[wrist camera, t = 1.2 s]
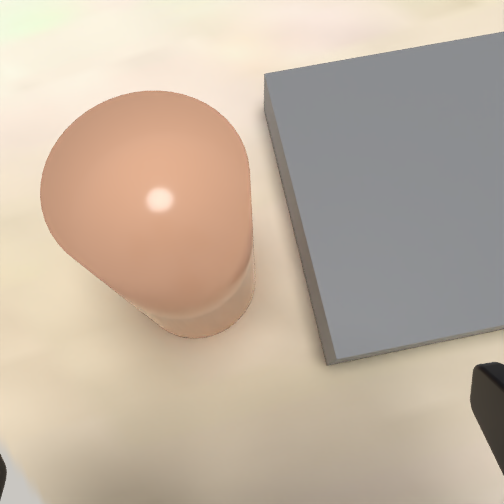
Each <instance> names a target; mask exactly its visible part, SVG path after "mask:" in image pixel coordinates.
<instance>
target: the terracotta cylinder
mask: <svg viewBox="0 0 504 504" xmlns="http://www.w3.org/2000/svg"><path fill="white" fill-rule="evenodd" d="M40 199H41V207H42V212H43V215H44V219H45V222H46V224H47V226H48V228H49V230H50V233H51V234H52V236H53V237H54V239H55V240H56V242H57V243H58V244H59V245H60V246H61V247H62V249H63V250H64V251H65V252H66V253H67V254H69V255H70V256H71V257H72V258H74V259H75V260H76V261H77V262H79V263H80V264H81V265H82V266H84V267H85V268H86V269H87V270H89V271H90V272H91V273H92V274H94V275H95V276H96V277H98V278H99V279H100V280H101V281H103V282H104V283H105V284H106V285H108V286H109V287H110V288H112V289H113V290H114V291H115V292H117V293H118V294H119V295H120V296H122V297H123V298H124V299H126V300H127V301H128V302H129V303H131V304H132V305H133V306H134V307H136V308H137V309H138V310H140V311H141V312H142V313H143V314H145V315H146V316H147V317H148V318H150V319H151V320H152V321H154V322H155V323H156V324H157V325H159V326H160V327H161V328H163V329H164V330H166V331H168V332H170V333H172V334H174V335H177V336H181V337H186V338H203V337H208V336H212V335H215V334H218V333H220V332H222V331H224V330H226V329H227V328H229V327H230V326H232V325H233V324H234V323H235V322H236V321H237V320H238V319H239V318H240V317H241V316H242V315H243V314H244V312H245V311H246V309H247V307H248V306H249V304H250V301H251V299H252V296H253V292H254V287H255V266H254V246H253V226H252V206H251V186H250V169H249V162H248V157H247V154H246V150H245V147H244V145H243V143H242V141H241V139H240V136H239V135H238V133H237V132H236V130H235V129H234V127H233V126H232V125H231V124H230V123H229V122H228V120H227V119H226V118H225V117H224V116H222V115H221V114H220V113H219V112H218V111H217V110H215V109H214V108H212V107H210V106H209V105H207V104H206V103H204V102H202V101H199V100H197V99H195V98H192V97H189V96H187V95H183V94H179V93H174V92H167V91H142V92H134V93H129V94H125V95H121V96H118V97H115V98H112V99H109V100H107V101H105V102H103V103H101V104H98V105H97V106H95V107H93V108H92V109H90V110H88V111H87V112H85V113H84V114H83V115H81V116H80V117H79V118H77V119H76V120H75V121H74V122H73V123H72V124H71V125H70V126H69V127H68V128H67V129H66V130H65V131H64V132H63V134H62V135H61V136H60V137H59V139H58V140H57V142H56V143H55V145H54V146H53V148H52V150H51V152H50V154H49V156H48V158H47V160H46V164H45V167H44V170H43V173H42V179H41V188H40Z"/></svg>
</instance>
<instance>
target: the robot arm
mask: <svg viewBox="0 0 504 504" xmlns="http://www.w3.org/2000/svg"><path fill="white" fill-rule="evenodd" d="M470 403H471V408H472V411H473V413H474V415H475V417H476V419H477V421H478V423H479V425H480V427H481V430H482V432H483V434H484V436H485V438H486V440H487V442H488V444H489V446H490V448H491V450H492V452H493V454H494V456H495V459H496V461H497V463H498V465H499V467H500V469H501V471H502V473H503V475H504V365H503V364H501V363H498V362H492V363H485V364H479V365H476V366H475V367H474V369H473V375H472V385H471V394H470ZM6 473H7V471H6V465H5V463H4V461H3V459H2V457H1V454H0V499H1V496H2V492H3V488H4V485H5V481H6Z"/></svg>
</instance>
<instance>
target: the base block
mask: <svg viewBox="0 0 504 504" xmlns="http://www.w3.org/2000/svg"><path fill="white" fill-rule="evenodd" d="M264 111H265V115H266V119H267V123H268V127H269V131H270V135H271V139H272V143H273V148H274V152H275V156H276V160H277V164H278V168H279V172H280V176H281V180H282V184H283V188H284V192H285V196H286V201H287V205H288V209H289V213H290V217H291V221H292V225H293V229H294V233H295V237H296V241H297V245H298V249H299V253H300V258H301V262H302V266H303V270H304V274H305V278H306V282H307V286H308V290H309V294H310V298H311V302H312V306H313V311H314V315H315V319H316V323H317V327H318V331H319V335H320V339H321V343H322V347H323V351H324V355H325V359H326V363H327V365H332V364H337V363H341V362H346V361H351V360H356V359H361V358H366V357H371V356H375V355H380V354H385V353H390V352H395V351H400V350H404V349H409V348H414V347H419V346H424V345H429V344H434V343H438V342H443V341H448V340H453V339H458V338H463V337H467V336H472V335H477V334H482V333H487V332H492V331H497V330H501V329H504V32H499V33H494V34H488V35H482V36H477V37H471V38H465V39H460V40H454V41H448V42H442V43H437V44H431V45H425V46H420V47H414V48H408V49H403V50H397V51H391V52H386V53H380V54H374V55H369V56H363V57H357V58H352V59H346V60H340V61H334V62H329V63H323V64H317V65H312V66H306V67H300V68H295V69H289V70H283V71H278V72H272V73H266V74H264Z"/></svg>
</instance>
